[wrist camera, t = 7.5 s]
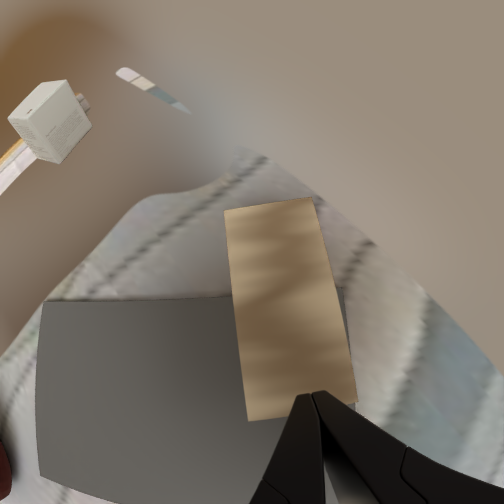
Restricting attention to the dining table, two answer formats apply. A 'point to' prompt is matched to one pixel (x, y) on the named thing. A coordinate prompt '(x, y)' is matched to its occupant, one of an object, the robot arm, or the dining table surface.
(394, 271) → the dining table surface
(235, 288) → the birch block
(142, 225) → the dining table surface
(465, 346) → the dining table surface
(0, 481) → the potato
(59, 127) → the product box
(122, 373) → the charcoal rubber mat
